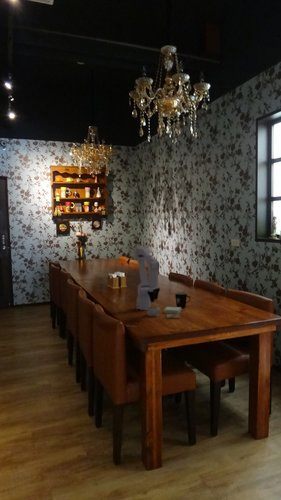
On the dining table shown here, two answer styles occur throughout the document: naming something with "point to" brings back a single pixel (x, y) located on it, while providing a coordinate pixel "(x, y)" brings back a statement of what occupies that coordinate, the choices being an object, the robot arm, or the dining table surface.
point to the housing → (153, 311)
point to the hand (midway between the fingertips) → (154, 300)
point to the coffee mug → (181, 299)
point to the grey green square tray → (172, 310)
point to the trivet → (172, 316)
